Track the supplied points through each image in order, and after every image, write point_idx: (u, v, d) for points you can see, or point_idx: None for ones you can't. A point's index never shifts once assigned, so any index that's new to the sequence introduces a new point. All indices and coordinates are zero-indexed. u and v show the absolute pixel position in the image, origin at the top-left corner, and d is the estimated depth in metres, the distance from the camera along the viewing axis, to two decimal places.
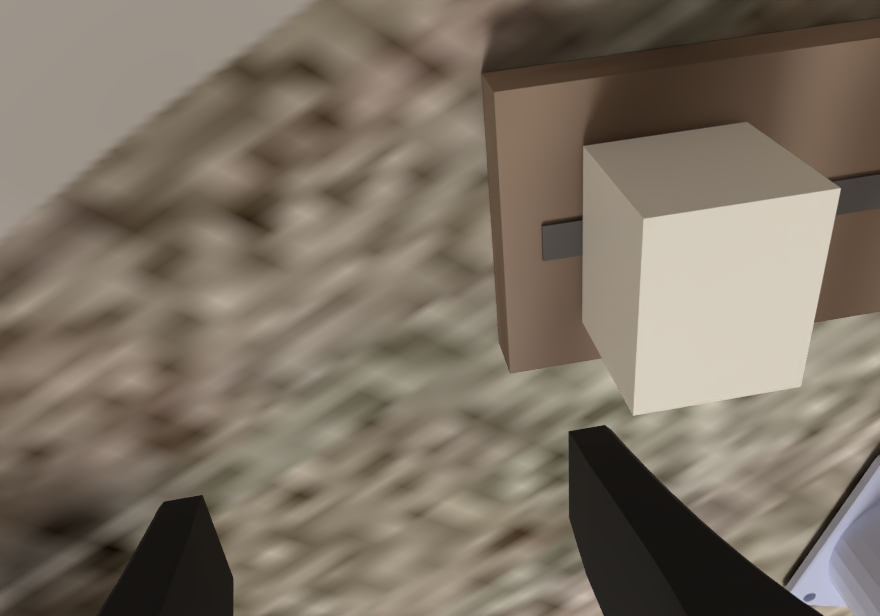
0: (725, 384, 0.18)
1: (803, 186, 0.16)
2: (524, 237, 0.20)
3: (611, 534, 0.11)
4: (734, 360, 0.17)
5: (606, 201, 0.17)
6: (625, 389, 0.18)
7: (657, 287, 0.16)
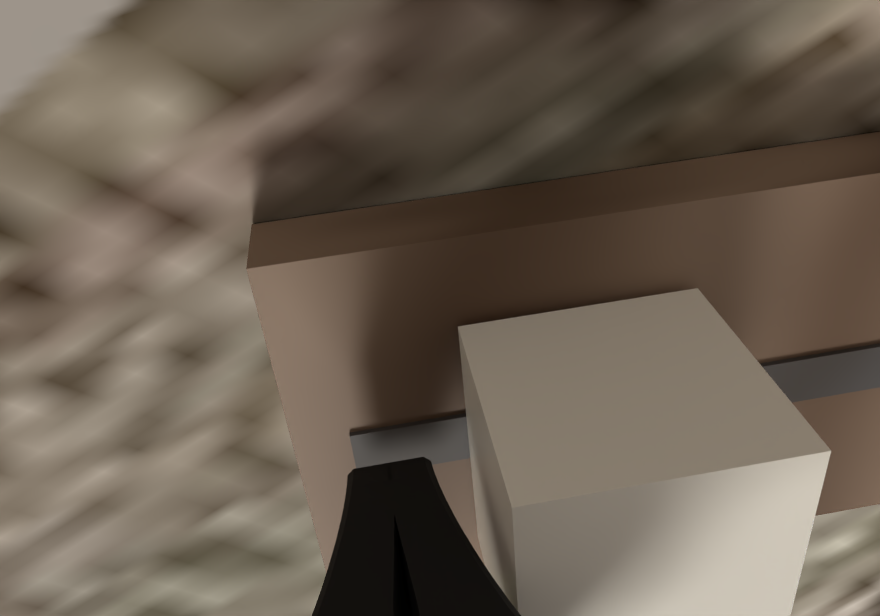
0: None
1: (772, 442, 0.10)
2: (327, 448, 0.14)
3: (406, 570, 0.11)
4: None
5: (481, 426, 0.11)
6: None
7: (544, 589, 0.10)
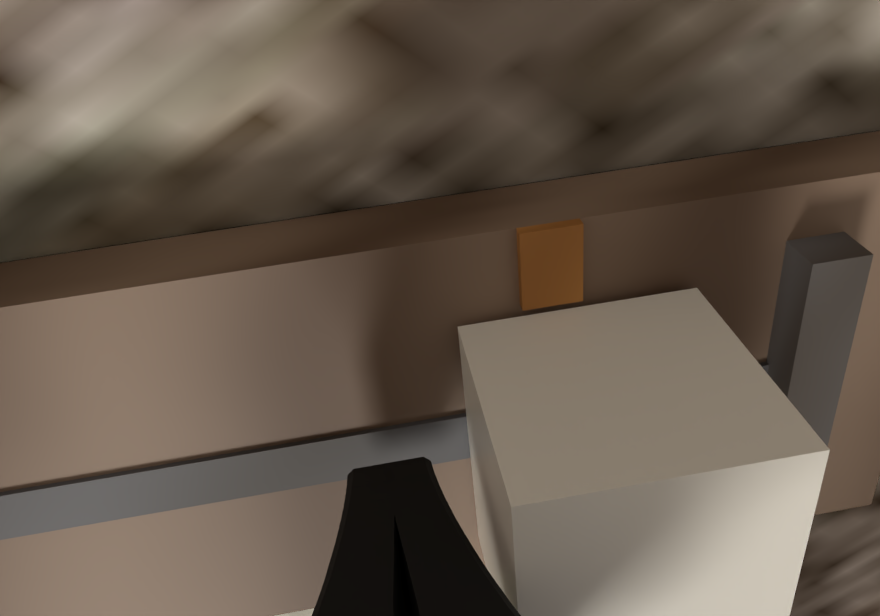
0: None
1: (770, 441, 0.10)
2: None
3: (406, 571, 0.11)
4: None
5: (480, 425, 0.11)
6: None
7: (543, 589, 0.10)
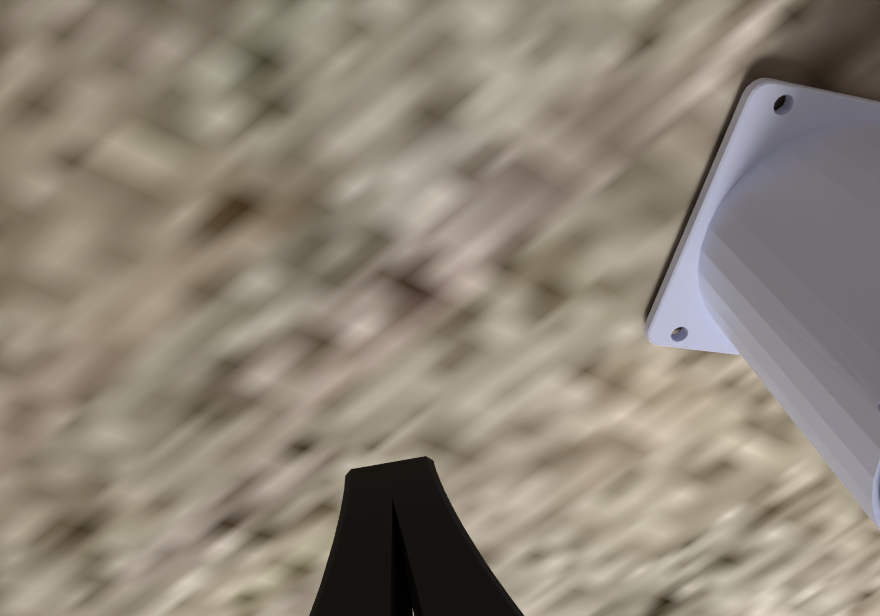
0: None
1: None
2: None
3: (409, 571, 0.11)
4: None
5: None
6: None
7: None
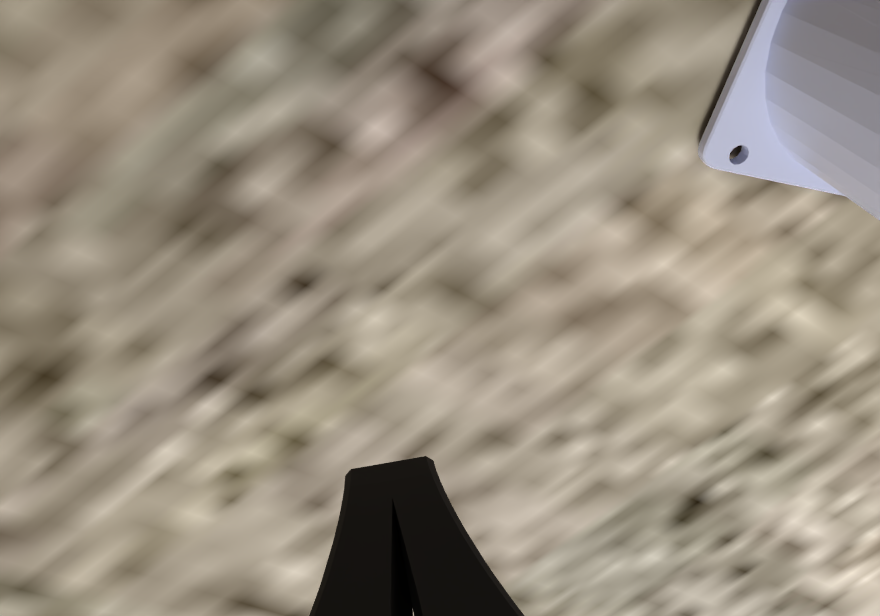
0: None
1: None
2: None
3: (409, 570, 0.11)
4: None
5: None
6: None
7: None
